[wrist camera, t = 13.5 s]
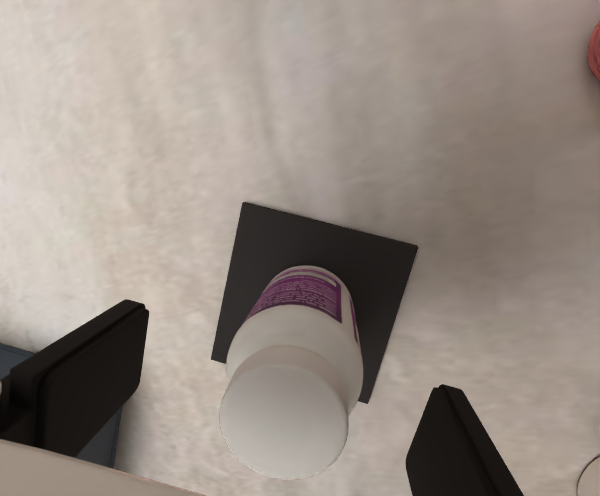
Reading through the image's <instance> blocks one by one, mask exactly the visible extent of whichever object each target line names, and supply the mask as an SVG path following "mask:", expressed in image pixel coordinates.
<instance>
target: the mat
mask: <svg viewBox="0 0 600 496" xmlns="http://www.w3.org/2000/svg"><path fill="white" fill-rule="evenodd" d="M417 250H418V246H416V245H412V244H408V243H404V242H400V241H396V240H393V239H389V238H385V237H381V236H377V235H373V234H369V233H365V232H361V231H357V230H353V229H349V228H345V227H341V226H337V225H333V224H329V223H325V222H321V221H317V220H313V219H310V218H306V217H302V216H298V215H294V214H290V213H286V212H282V211H278V210H274V209H270V208H266V207H262V206H258V205H254V204H250V203H246V202H243V203H242V208H241V213H240V217H239V222H238V227H237V232H236V237H235V242H234V247H233V252H232V257H231V262H230V267H229V272H228V277H227V282H226V287H225V292H224V297H223V302H222V307H221V312H220V316H219V321H218V326H217V331H216V336H215V341H214V346H213V351H212V356H211V360H215V361H218V362H222V363H225V364H226V362H227V356H228V351H229V349H230V346H231V343H232V341H233V338H234V337H235V335H236V333H237V331H238V330H239V328H240V327H241V326H242V324H243V322H244V321H245V319H246V318H247V316H248V315H249V313H250V312H251V310H252V309H253V307H254V305H255V304H256V302H257V301H258V299H259V298H260V296H261V295H262V293H263V291H264V290H265V288H266V287H267V286H268V284H269V283H270V282H271V281H272V280H273V279H274V278H275V277H276V276H277V275H278V274H280V273H281V272H283V271H284V270H287V269H289V268H292V267H296V266H316V267H320V268H323V269H325V270H327V271H329V272H331V273H333V274H334V275H335V276H337V277H338V278H339V279H340V280H341V281H342V282H343V283H344V285H345V286H346V288H347V289H348V291H349V293H350V296H351V299H352V302H353V307H354V312H355V318H356V323H357V329H358V335H359V343H360V349H361V354H362V361H363V384H362V389H361V393H360V396H359V398H358V401H359V402H363V403H367V404H368V402H369V399H370V396H371V392H372V389H373V386H374V383H375V380H376V377H377V374H378V371H379V368H380V365H381V361H382V358H383V355H384V352H385V349H386V346H387V343H388V340H389V337H390V334H391V330H392V327H393V324H394V321H395V318H396V315H397V312H398V309H399V306H400V303H401V299H402V296H403V293H404V290H405V287H406V284H407V281H408V278H409V275H410V272H411V269H412V265H413V262H414V259H415V256H416V253H417Z"/></svg>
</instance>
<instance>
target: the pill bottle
mask: <svg viewBox="0 0 600 496" xmlns="http://www.w3.org/2000/svg"><path fill="white" fill-rule="evenodd" d="M226 377H227V383H228V387H227V389H226V392H225V394H224V396H223V399H222V403H221V406H220V413H219V420H220V428H221V432H222V435H223V437H224V440H225V442H226V444H227V446H228V447H229V449H230V450H231V452H232V453H233V454H234V456H235V457H236V458H237V459H238V460H239V461H241V462H242V463H243V464H244V465H245V466H247V467H248V468H250V469H252V470H253V471H255V472H257V473H259V474H262V475H264V476H267V477H271V478H275V479H280V480H296V479H303V478H307V477H311V476H313V475H315V474H318V473H320V472H322V471H324V470H325V469H327V468H328V467H329V466H331V465H332V464H333V463H334V462H335V460H336V459H337V458H338V457H339V455H340V454H341V452H342V450H343V448H344V446H345V443H346V440H347V435H348V415H349V414H350V413H351V411H352V410H353V408H354V407H355V405H356V403H357V401H358V398H359V396H360V393H361V389H362V384H363V361H362V354H361V349H360V343H359V335H358V329H357V323H356V318H355V312H354V307H353V302H352V299H351V296H350V293H349V291H348V289H347V288H346V286H345V285H344V283H343V282H342V281H341V280H340V279H339V278H338V277H337V276H335V275H334V274H333V273H331V272H329V271H327V270H325V269H323V268H320V267H316V266H296V267H292V268H289V269H287V270H284V271H283V272H281V273H280V274H278V275H277V276H276V277H275V278H274V279H273V280H272V281H271V282H270V283H269V284H268V286H267V287H266V288H265V290H264V291H263V293H262V295H261V296H260V298H259V299H258V301H257V302H256V304H255V305H254V307H253V309H252V310H251V312H250V313H249V315H248V316H247V318H246V319H245V321H244V322H243V324H242V326H241V327H240V328H239V330H238V331H237V333H236V335H235V337H234V338H233V341H232V343H231V346H230V349H229V351H228V356H227V362H226Z"/></svg>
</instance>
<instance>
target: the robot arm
mask: <svg viewBox="0 0 600 496" xmlns="http://www.w3.org/2000/svg"><path fill="white" fill-rule="evenodd" d="M148 318H149V311H148V310H147V309H145V305H144V304H142V303H139V302H135V301H131V300H127V299H126V300H123V301H122V302H120V303H118V304H117V305H115V306H113V307H112V308H110V309H108V310H107V311H105V312H103V313H102V314H100V315H99V316H97V317H95V318H94V319H92V320H90V321H89V322H87V323H85V324H84V325H82V326H80V327H79V328H77V329H75V330H74V331H72V332H71V333H69V334H67V335H66V336H64V337H62V338H61V339H59V340H57V341H56V342H54V343H52V344H51V345H49V346H47V347H46V348H44V349H43V350H41V351H39V352H38V353H36V354H34V355H33V356H31V357H29V358H28V359H26V360H24V361H23V362H21V363H19V364H18V365H16V366H15V367H13V368H11V369H10V374H8V375H7V376H5V377H4V378H2V379H0V496H205V495H202V494H199V493H195V492H192V491H188V490H185V489H181V488H178V487H175V486H171V485H168V484H164V483H161V482H157V481H154V480H150V479H147V478H143V477H140V476H136V475H133V474H129V473H126V472H122V471H119V470H115V469H112V468H108V467H105V466H101V465H98V464H94V463H91V462H87V461H84V460H80V459H76V458H75V457H76V456H77V455H78V454H79V453H80V452H81V451H82V450H83V448H84V447H85V446H86V445H87V444H88V443H89V442H90V441H91V440H92V439H93V437H94V436H95V435H96V434H97V433H98V432H99V431H100V430H101V429H102V428H103V426H104V425H105V424H106V423H107V422H108V421H109V420H110V419H111V418H112V417H113V415H114V414H115V413H116V412H117V411H118V410H119V409H120V408H121V407H122V406H123V404H124V403H125V402H126V401H127V400H128V399H129V398H130V397H131V396H132V395H133V393H134V392H135V391H136V389H137V387H138V385H139V383H140V378H141V370H142V363H143V355H144V348H145V341H146V333H147V326H148ZM406 470H407V474H408V479H409V483H410V487H411V491H412V495H413V496H524V495H523V493H522V492H521V490H520V488H519V487H518V485H517V483H516V481H515V480H514V478H513V476H512V475H511V473H510V471H509V469H508V468H507V466H506V464H505V463H504V461H503V459H502V457H501V456H500V454H499V452H498V451H497V449H496V447H495V445H494V444H493V442H492V440H491V439H490V437H489V435H488V433H487V432H486V430H485V428H484V427H483V425H482V423H481V421H480V420H479V418H478V416H477V415H476V413H475V411H474V409H473V408H472V406H471V404H470V403H469V401H468V399H467V397H466V396H465V394H464V392H463V391H462V390H461V389H458V388H454V387H451V386H447V385H443V384H442V385H440V386H439V387H438V388H436V387H435V388H433V390H432V392H431V394H430V397H429V400H428V402H427V405H426V407H425V410H424V412H423V415H422V418H421V420H420V423H419V425H418V428H417V431H416V433H415V436H414V438H413V441H412V444H411V446H410V449H409V451H408V454H407V457H406Z"/></svg>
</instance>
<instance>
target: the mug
mask: <svg viewBox="0 0 600 496" xmlns="http://www.w3.org/2000/svg"><path fill="white" fill-rule="evenodd" d="M577 496H600V457H598V458H597V459H595V460H594V461H593V462H592V463H591V464H590V465H589V466H588V467H587V468H586V469H585V471H584V472H583V474H582V476H581V478H580V480H579V483H578V489H577Z"/></svg>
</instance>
